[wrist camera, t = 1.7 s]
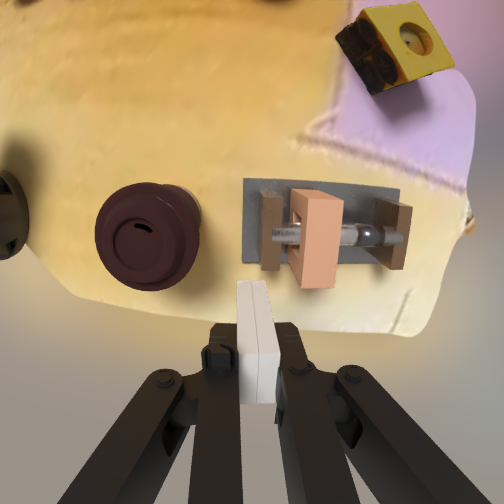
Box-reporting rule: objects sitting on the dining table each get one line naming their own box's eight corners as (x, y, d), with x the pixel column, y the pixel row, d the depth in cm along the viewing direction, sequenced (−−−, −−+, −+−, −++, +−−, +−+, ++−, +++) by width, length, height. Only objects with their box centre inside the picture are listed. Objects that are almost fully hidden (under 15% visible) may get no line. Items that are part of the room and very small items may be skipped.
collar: (286, 258, 37) (301, 288, 29) (290, 188, 34) (308, 198, 26) (312, 258, 37) (333, 287, 29) (318, 190, 34) (343, 200, 26)
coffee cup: (169, 262, 39) (135, 318, 24) (125, 205, 36) (67, 234, 22) (226, 220, 37) (219, 259, 23) (181, 159, 34) (144, 159, 20)
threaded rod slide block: (241, 260, 39) (242, 284, 32) (243, 178, 36) (245, 182, 28) (387, 260, 40) (414, 281, 33) (397, 188, 37) (428, 196, 29)
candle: (333, 37, 30) (359, 7, 20) (384, 23, 29) (417, -2, 19) (369, 97, 33) (407, 83, 23) (417, 79, 32) (457, 66, 22)
